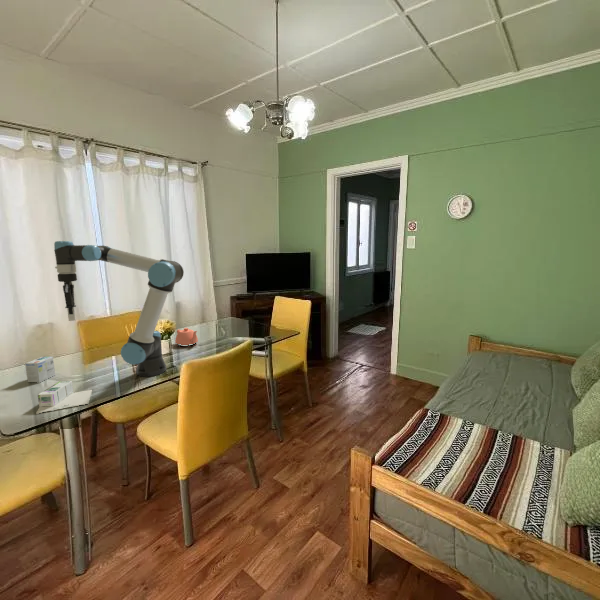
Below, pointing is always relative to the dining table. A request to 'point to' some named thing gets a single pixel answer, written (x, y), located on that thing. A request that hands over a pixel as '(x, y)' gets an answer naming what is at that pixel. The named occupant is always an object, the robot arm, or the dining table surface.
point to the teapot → (186, 337)
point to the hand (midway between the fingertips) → (72, 320)
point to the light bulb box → (40, 369)
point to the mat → (70, 401)
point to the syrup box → (55, 393)
